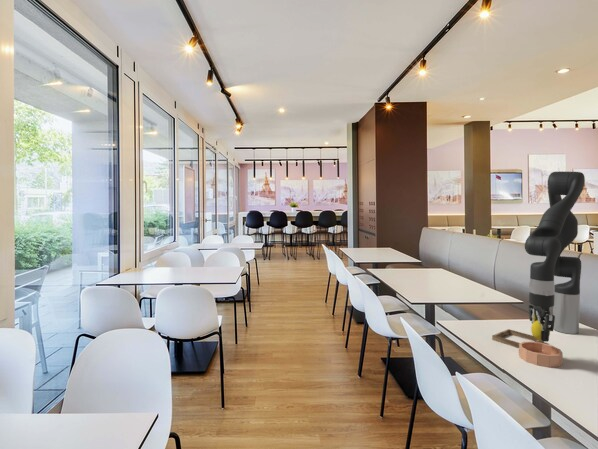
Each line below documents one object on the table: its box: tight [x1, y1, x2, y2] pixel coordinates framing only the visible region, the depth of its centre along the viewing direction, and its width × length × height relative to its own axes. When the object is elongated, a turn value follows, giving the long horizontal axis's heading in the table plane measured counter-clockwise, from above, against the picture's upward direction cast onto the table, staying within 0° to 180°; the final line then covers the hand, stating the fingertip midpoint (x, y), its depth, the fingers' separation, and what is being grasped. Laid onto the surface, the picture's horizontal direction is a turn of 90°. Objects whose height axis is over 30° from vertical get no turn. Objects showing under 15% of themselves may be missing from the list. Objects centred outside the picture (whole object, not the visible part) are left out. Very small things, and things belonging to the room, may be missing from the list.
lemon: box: [530, 320, 551, 341], centre depth 124 cm, size 6×6×8 cm
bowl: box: [518, 341, 564, 368], centre depth 124 cm, size 13×13×4 cm
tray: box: [491, 328, 545, 349], centre depth 141 cm, size 14×14×2 cm
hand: (540, 337), depth 124 cm, fingers closed on lemon, 5 cm apart
